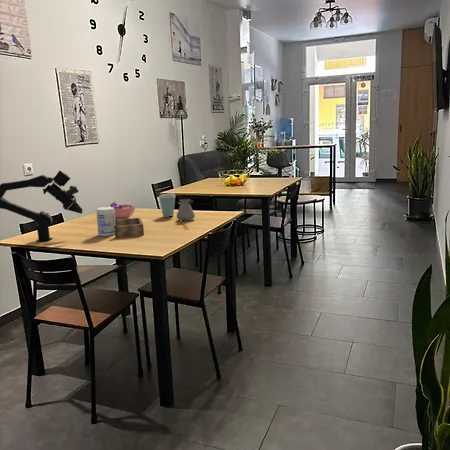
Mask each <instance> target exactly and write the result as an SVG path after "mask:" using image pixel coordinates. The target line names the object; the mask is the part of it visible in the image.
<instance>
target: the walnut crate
mask: <svg viewBox="0 0 450 450" xmlns="http://www.w3.org/2000/svg"><path fill="white" fill-rule="evenodd" d="M114 230H115V234H114V239H118V238H128V237H140V236H144V235H145V233H144V232H145V231H144V222H143V221H142V219H141V217H132V218H130V217H129V218H128V219H117V220H116V218H115V225H114Z"/></svg>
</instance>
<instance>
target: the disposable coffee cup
mask: <svg viewBox="0 0 450 450" xmlns="http://www.w3.org/2000/svg"><path fill="white" fill-rule="evenodd" d="M158 198H159V204H160V209H161V213H162V216H164V217H163V218H170V217H169V216H173V217H174V215H175V203H176V194H175V192H174V193H163V194H160V195H159V196H158Z"/></svg>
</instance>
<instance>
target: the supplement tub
mask: <svg viewBox="0 0 450 450" xmlns="http://www.w3.org/2000/svg"><path fill="white" fill-rule="evenodd" d="M96 224H97V235H98V236H100V237H110V236H115V230H114V225H115V211H114V208H113V207H107V206H103V207H97V208H96Z"/></svg>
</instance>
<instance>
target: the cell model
mask: <svg viewBox="0 0 450 450" xmlns="http://www.w3.org/2000/svg"><path fill="white" fill-rule="evenodd" d="M106 207H113V208H114V211H115V218H116V220H117V219H129V218H130V217H132V216H133V214H134V212H135V209H136V206H134V205H132V204H117V203H116V201H113V202H112V203H111V204H110V205H108V206H106Z"/></svg>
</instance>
